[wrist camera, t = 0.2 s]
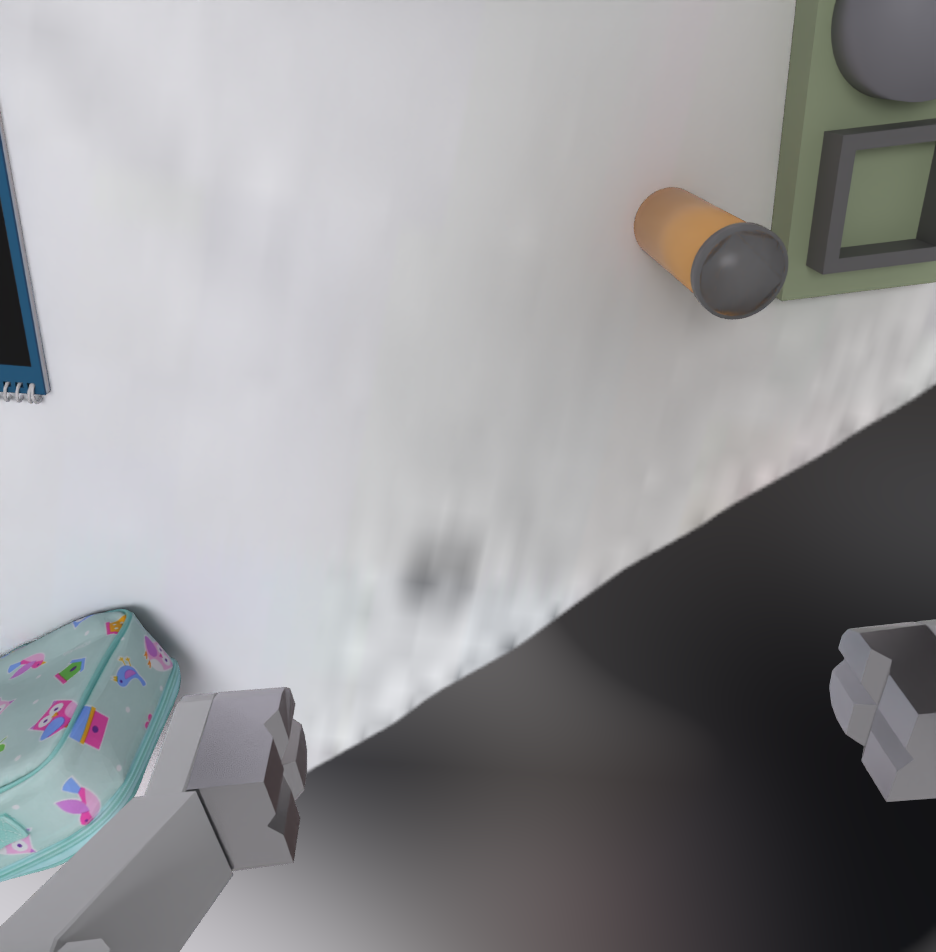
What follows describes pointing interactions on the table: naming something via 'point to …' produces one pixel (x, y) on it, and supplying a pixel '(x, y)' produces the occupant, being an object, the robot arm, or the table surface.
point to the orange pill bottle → (712, 252)
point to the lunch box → (76, 734)
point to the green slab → (858, 148)
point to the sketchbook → (17, 301)
